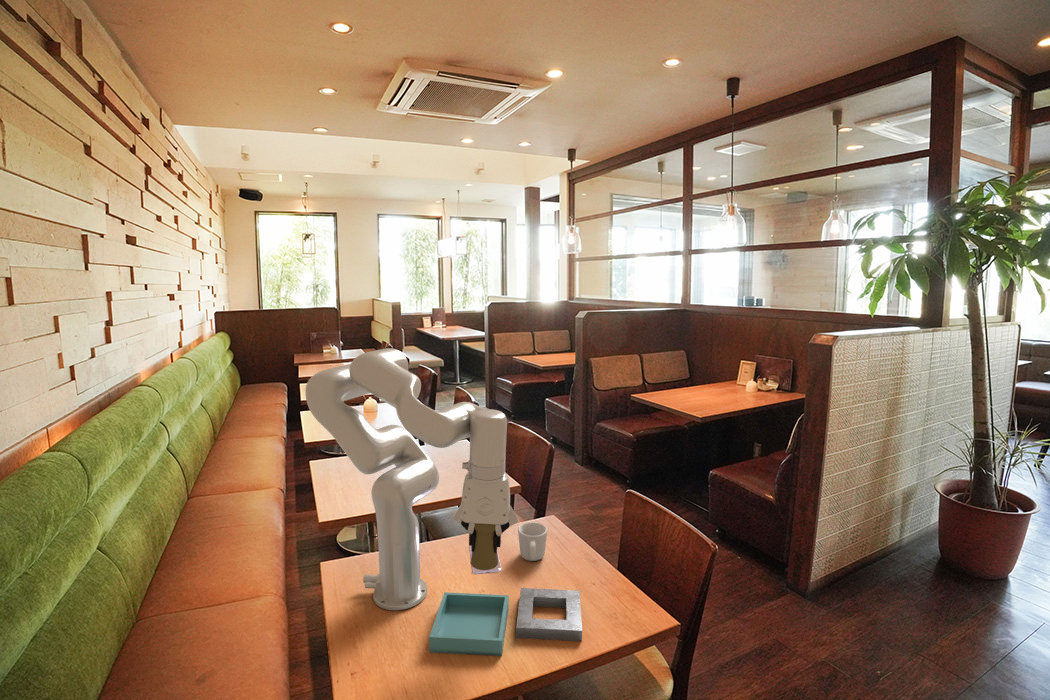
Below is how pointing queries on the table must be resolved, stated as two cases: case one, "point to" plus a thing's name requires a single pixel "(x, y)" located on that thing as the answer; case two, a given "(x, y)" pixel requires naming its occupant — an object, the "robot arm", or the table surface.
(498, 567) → the mobile phone
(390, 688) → the table surface
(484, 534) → the olive brown peg figure
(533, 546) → the cup
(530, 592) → the socket block
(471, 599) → the parts tray
